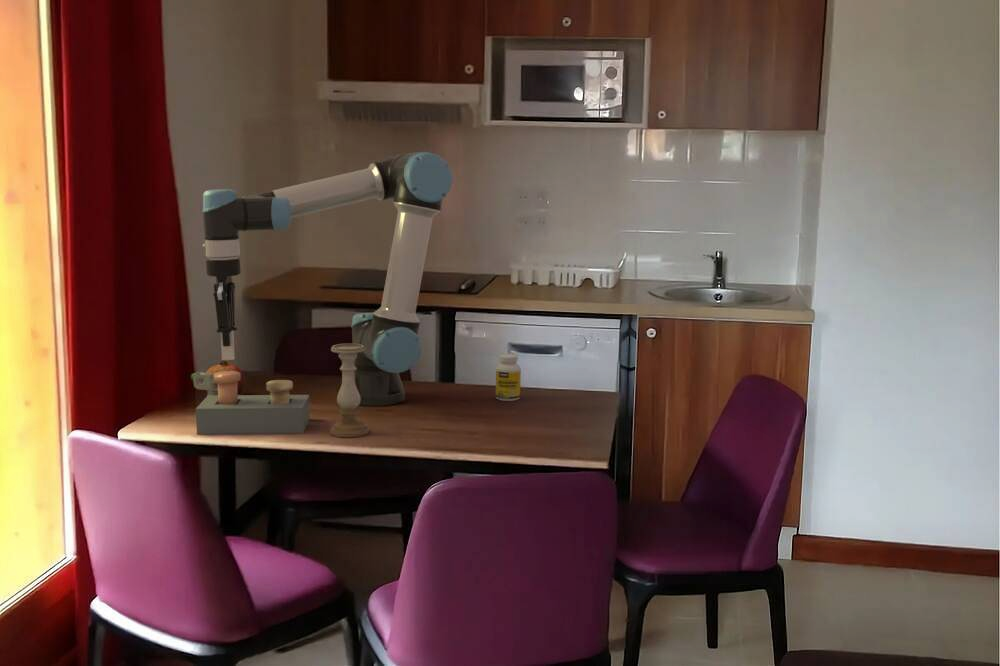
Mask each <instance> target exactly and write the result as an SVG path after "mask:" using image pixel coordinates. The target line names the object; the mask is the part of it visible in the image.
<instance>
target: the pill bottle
mask: <svg viewBox="0 0 1000 666" xmlns="http://www.w3.org/2000/svg"><path fill="white" fill-rule="evenodd" d="M499 361H500V363H499V364H498V365H496V367H495V368H496V369H495V398H496V400H499V401H504V402H513V401H514V402H515V401H518V400H519V399H520V398H521V373H522V372H521V367H520V365H519V364H518V363H517V362H518V354H517V355H516V354H511V353H504V354H500V355H499Z"/></svg>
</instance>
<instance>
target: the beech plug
mask: <svg viewBox="0 0 1000 666" xmlns="http://www.w3.org/2000/svg"><path fill="white" fill-rule="evenodd" d="M293 388H294V383H293V381H292V380H289V379H273V380H269V381H267V382H266V391H268V392H270V393H269V395H270V402H271V404H290V395H291V393H290V391H292V390H293Z"/></svg>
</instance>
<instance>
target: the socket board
mask: <svg viewBox="0 0 1000 666" xmlns="http://www.w3.org/2000/svg"><path fill="white" fill-rule="evenodd" d="M310 415H311V414H310V394H290V404H271V402H270V394H254V395H253V394H252V395H251V394H250V395H249V394H246V395H245V394H238V404H218V395H208V396H207V395H206V397H205V398H203V400H202V401H201V402H200V404H199V405H198V406H197V407H196V408H195V421H196V425H195V426H196V435H255V434H258V435H260V434H261V435H262V434H267V435H268V434H269V435H270V434H271V435H273V434H277V435H278V434H282V435H283V434H304V433H305V430H306V428H307V427H308V424H309V421H310V418H311V417H310Z"/></svg>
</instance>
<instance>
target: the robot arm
mask: <svg viewBox="0 0 1000 666" xmlns="http://www.w3.org/2000/svg"><path fill="white" fill-rule="evenodd" d="M452 184H453V173H452V170H451V167H450V166H449V164H448V163H447V161H446V160H445V159H444V158H443V157H441V156H440V155H438V154H435V153H432V152H428V151H418V152H417V151H415V152H414V151H409V152H403V153H400V154H397V155H395V156H392V157H389V158H386V159H383V160H380V161H376V162H371V163H370V164H369V166H368V167H367V168H363V169H360V170H356V171H351V172H346V173H343V174H337V175H334V176H330V177H326V178H321V179H318V180H317V179H316V180H311V181H307V182H303V183H300V184H296V185H291V186H285V187H283V188H278V189H273V190H271V191H264V192H261V193H257V194H256V193H255V194H254V193H252V194H248V195H244V196H243V197H238V194H237V191H236V190H235V189H208V190H206V191H204V192H203V194H202V205H203V206H202V215H203V216H202V217H203V231H204V233H203V234H204V242H205V243H203V244H202V247H203V248H205V256H206V258H208V259H206V261H205V265H206V266H205V267H206V268H205V269H206V275H207V276H208V277H215V279H216V282H215V283H214V284H213V289H214V290H213V297H214V302H215V303H214V304H215V311H216V312H215V313H216V321H217V330H216V333H220V347H221V349H220V351H221V361H223V360H226V361H234V360H235V359H236V357H235V355H236V354H235V353H236V352H235V351H236V350H235V338H234V337H235V336H234V331H237V330H238V327H237V326H236V323H235V322H236V321H235V319H236V318H235V317H236V314H235V312H236V309H235V308H236V307H235V304H236V303H235V294H236V293H235V290H236V285H235V284H236V283H235V282H233V278H232V277H235V276H238V275H241V272H242V271H241V260H240V258H238V257H240V255H241V248H240V237H239V236H240V234H239V232H247V231H250V232H251V231H279V230H281V231H282V230H287V229H289V228H290V226H291V225H292V219H293V218H297V217H301V216H305V215H310V214H314V213H317V212H322V211H327V210H332V209H334V208H340V207H343V206H348V205H352V204H357V203H360V202H363V201H368V200H372V199H376V200H378V201H381V202H382V201H384V200H390V199H393V205H394V206H395V208H396V209H397V216H396V221H395V227H394V233H393V238H392V243H391V244H392V245H391V249H390V254H389V261H388V267H387V272H386V278H385V281H384V282H385V283H384V289H383V294H382V299H381V304H380V305H381V306H380V307H379V308H378V309H376V310H375V311H374V312H366V313H365V312H364V313H356V314H354V315H353V316H352V322H351V334H352V336H351V337H352V338H351V339H352V343H351V344H361V345H363V346H364V347H365V350H364V351H363V352H359V353H357V357H356V359H355V360H354V365H355V366H356V368H357V369H356V370H355V373H354V376H355V385H356V387H357V390H358V392H359V394H360V397H361V401H360V404H359V405H358V406H366V407H367V406H368V407H369V406H370V407H371V406H372V407H376V406H377V407H378V406H390V405H395V404H398V403H401V402H403V401H405V399H406V398H405V397H406V396H405V395H406V394H405V393H406V392H405V388H404V385H403V382H402V379H401V376H400V373H404V372H406V371H408V370H410V369H411V368H412V367H414V365H416V363H417V362H418V360H419V359H420V356H421V352H422V343H421V340H420V337H419V335H418V334H419V330H420V323H421V320H420V319H419V317H418V316H417V313H416V311H417V307H418V300H419V296H420V295H419V294H420V289H421V283H422V278H423V273H424V272H423V271H424V267H425V261H426V258H427V257H426V256H427V252H428V247H429V246H428V245H429V240H430V236H431V235H430V234H431V230H432V225H433V219H434V217H435V216H437V215H438V214H439V213H441V210H442V204H443V199H444V198H446V197H447V195H448V193H449V192H450V191H451V187H452ZM235 326H236V327H235Z"/></svg>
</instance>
